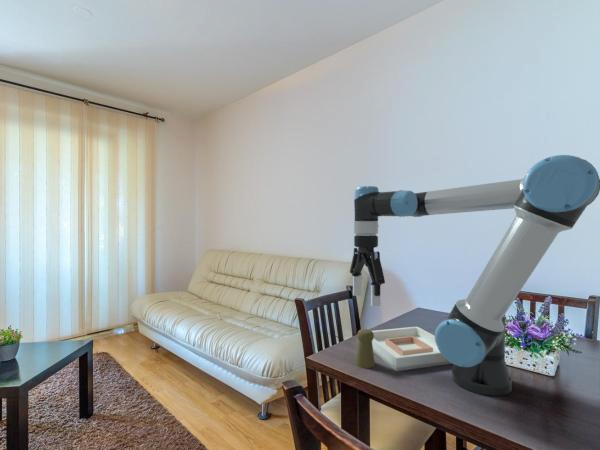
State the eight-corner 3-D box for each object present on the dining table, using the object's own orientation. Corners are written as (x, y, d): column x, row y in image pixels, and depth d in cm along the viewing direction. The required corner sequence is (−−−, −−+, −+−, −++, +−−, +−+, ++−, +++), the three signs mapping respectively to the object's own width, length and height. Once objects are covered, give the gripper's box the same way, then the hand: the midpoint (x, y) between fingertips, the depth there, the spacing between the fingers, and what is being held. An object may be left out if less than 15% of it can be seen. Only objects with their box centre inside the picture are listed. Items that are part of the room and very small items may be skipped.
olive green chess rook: (373, 360, 107) (373, 327, 107) (376, 368, 101) (376, 333, 101) (355, 359, 108) (355, 326, 108) (356, 367, 102) (356, 333, 102)
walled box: (461, 362, 106) (461, 350, 106) (396, 371, 100) (396, 358, 100) (417, 336, 129) (417, 326, 129) (362, 342, 123) (362, 331, 123)
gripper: (397, 236, 93) (396, 310, 93) (360, 232, 117) (359, 291, 118) (373, 237, 91) (373, 311, 92) (340, 233, 115) (340, 292, 116)
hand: (365, 300), depth 105 cm, fingers open, 13 cm apart
